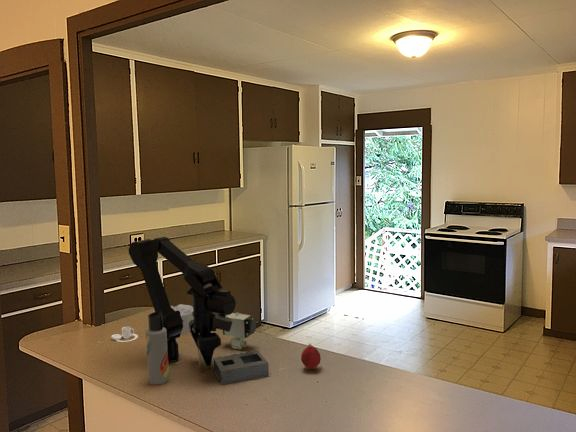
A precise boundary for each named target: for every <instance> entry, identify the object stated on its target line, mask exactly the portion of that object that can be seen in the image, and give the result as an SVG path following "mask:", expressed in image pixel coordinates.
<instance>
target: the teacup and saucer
mask: <svg viewBox="0 0 576 432" xmlns="http://www.w3.org/2000/svg"><path fill="white" fill-rule="evenodd" d="M132 330H133V331H132ZM131 331H132V332H131ZM110 336H111V337H110V338H111V339H112V340H114V341H115V342H120V343H128V342H131V341H135V340H136V339H138V338H139V335H138V334H136V333H135V329H134V328H131V326H122V327H121V334H119V333H117V334H116V333H115V334H112V335H110ZM132 336H134V337H133V338H132V339H130V338H131V337H132ZM122 338H123V339H124V340H121V339H122ZM127 339H128V340H127Z"/></svg>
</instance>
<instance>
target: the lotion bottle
mask: <svg viewBox="0 0 576 432" xmlns="http://www.w3.org/2000/svg"><path fill="white" fill-rule="evenodd" d="M147 318H148V319H147V320H148V329H146V330H145V343H146V358H147V360H146V361H147V372H148V373H147V374H148V382H149V384H151V385H154V386H155V385H157V386H158V385H163V384H165V383H167V382H169V380H170V372H169V362H168V350H167V332H166V328H164V327H163V321H162V314H161V313H160V312H155V311H154V312H151V313H148V315H147Z"/></svg>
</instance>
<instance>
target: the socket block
mask: <svg viewBox="0 0 576 432" xmlns="http://www.w3.org/2000/svg"><path fill="white" fill-rule="evenodd" d="M212 366H213V372H214V374H215V376H216V378H217V380H218V381H219V384H220V385H221V386H222V385H228V384H234V383H239V382H245V381H250V380H255V379H260V378H265V377H269V372H270V371H269V362H268V360H267V359H266V358H265V357H264V355H262V353H261V352H260V351H259V350H254V351H247V352H242V353H236V354H235V353H234V354H231V355H230V354H228V355H222V356H218V357H212Z"/></svg>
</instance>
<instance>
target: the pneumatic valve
mask: <svg viewBox="0 0 576 432" xmlns="http://www.w3.org/2000/svg"><path fill="white" fill-rule="evenodd" d="M225 315H226V314H225ZM226 317H228V318H230V319H231V320H232V321H233V323H232V326H231V329H230V332H227V331H225V330H221V331H222V336H223V335H224V336H230V337H231V338H230V340H229V343H230V346H231V349H235V350H242V349H243V348H246V347H247V344H248V341H247V338H249V336H251V335H253V334H255V332H256V329H257V322H256V320H254V318H253V315H252V314H251V315H250V314H244V313H240V312H235V313H234V312H232V313H231V314H230V315H226Z"/></svg>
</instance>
